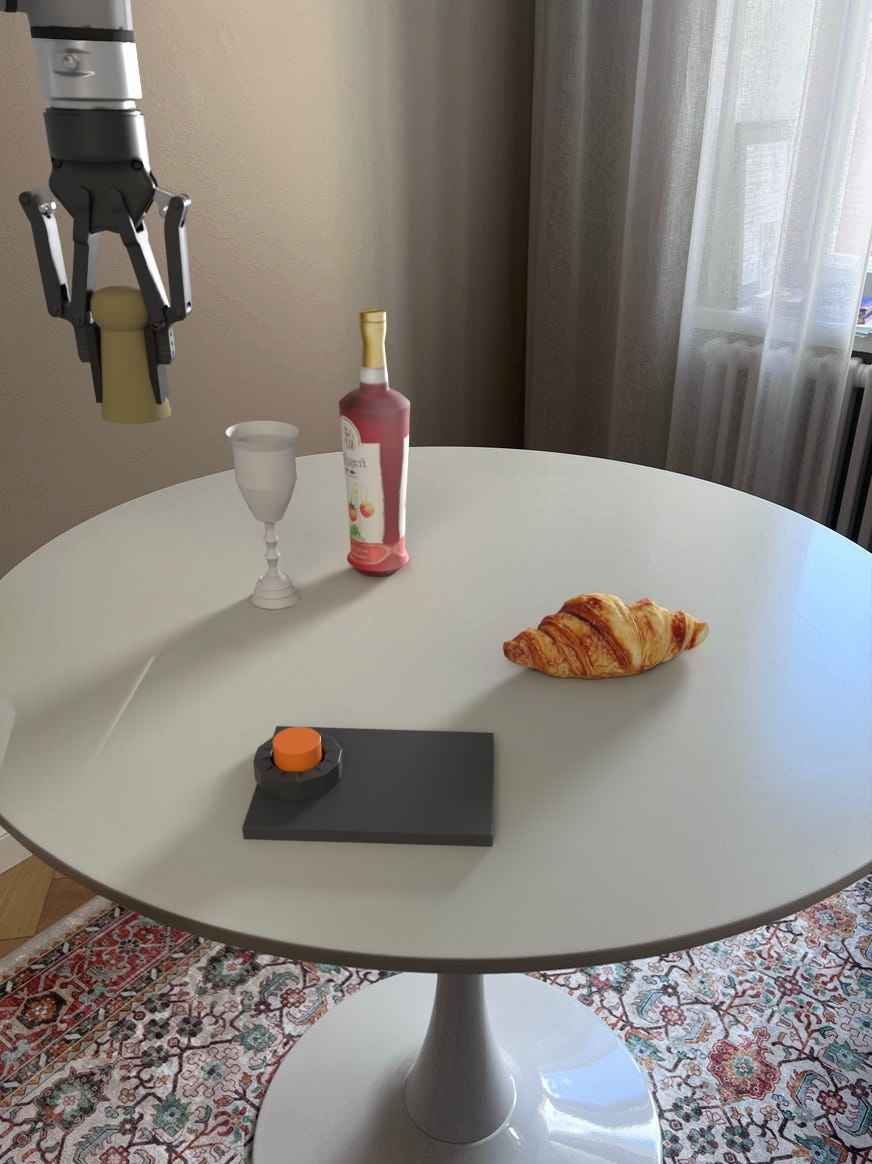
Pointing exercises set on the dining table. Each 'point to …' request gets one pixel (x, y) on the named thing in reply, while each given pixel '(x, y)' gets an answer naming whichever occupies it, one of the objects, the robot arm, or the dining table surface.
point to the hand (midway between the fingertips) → (133, 398)
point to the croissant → (605, 638)
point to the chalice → (267, 495)
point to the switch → (297, 749)
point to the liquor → (375, 457)
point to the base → (379, 790)
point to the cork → (125, 357)
